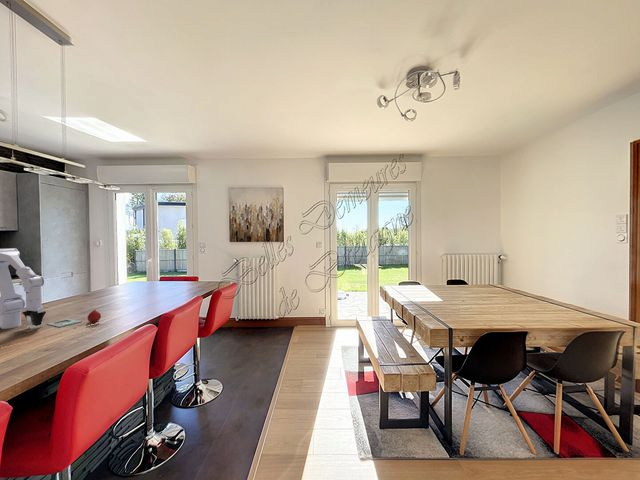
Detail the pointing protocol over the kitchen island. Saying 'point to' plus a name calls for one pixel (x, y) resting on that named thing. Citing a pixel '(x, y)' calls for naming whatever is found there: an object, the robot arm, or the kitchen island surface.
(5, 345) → the kitchen island surface
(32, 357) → the kitchen island surface
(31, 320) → the steel peg
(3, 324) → the robot arm
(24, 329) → the brown square plate
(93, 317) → the onion
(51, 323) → the hole plate
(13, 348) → the kitchen island surface
